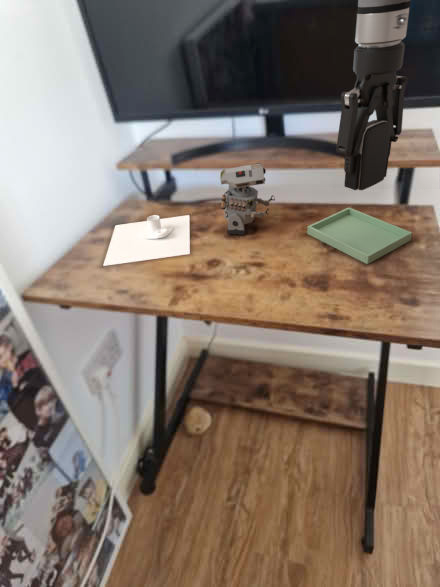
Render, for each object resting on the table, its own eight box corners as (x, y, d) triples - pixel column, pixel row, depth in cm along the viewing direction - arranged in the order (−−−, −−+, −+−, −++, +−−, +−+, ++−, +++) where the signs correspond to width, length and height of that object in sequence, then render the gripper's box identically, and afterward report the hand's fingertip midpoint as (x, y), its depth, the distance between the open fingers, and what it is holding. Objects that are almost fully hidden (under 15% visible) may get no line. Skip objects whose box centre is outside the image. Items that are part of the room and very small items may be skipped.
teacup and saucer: (172, 239, 98) (168, 224, 95) (139, 244, 98) (135, 229, 95) (173, 222, 105) (170, 208, 102) (142, 227, 105) (139, 212, 102)
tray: (410, 240, 85) (412, 232, 84) (367, 264, 80) (368, 256, 79) (348, 214, 97) (349, 207, 96) (307, 233, 92) (307, 226, 91)
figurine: (268, 237, 93) (265, 174, 84) (221, 235, 96) (213, 174, 87) (275, 218, 100) (273, 158, 91) (231, 217, 103) (224, 159, 94)
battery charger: (369, 175, 81) (375, 115, 74) (385, 180, 78) (393, 118, 71) (344, 187, 78) (349, 126, 71) (360, 192, 75) (366, 129, 68)
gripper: (353, 56, 57) (343, 204, 71) (441, 32, 65) (416, 170, 79) (316, 54, 63) (313, 192, 77) (401, 32, 70) (384, 162, 84)
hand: (365, 181), depth 78 cm, fingers closed on battery charger, 7 cm apart
